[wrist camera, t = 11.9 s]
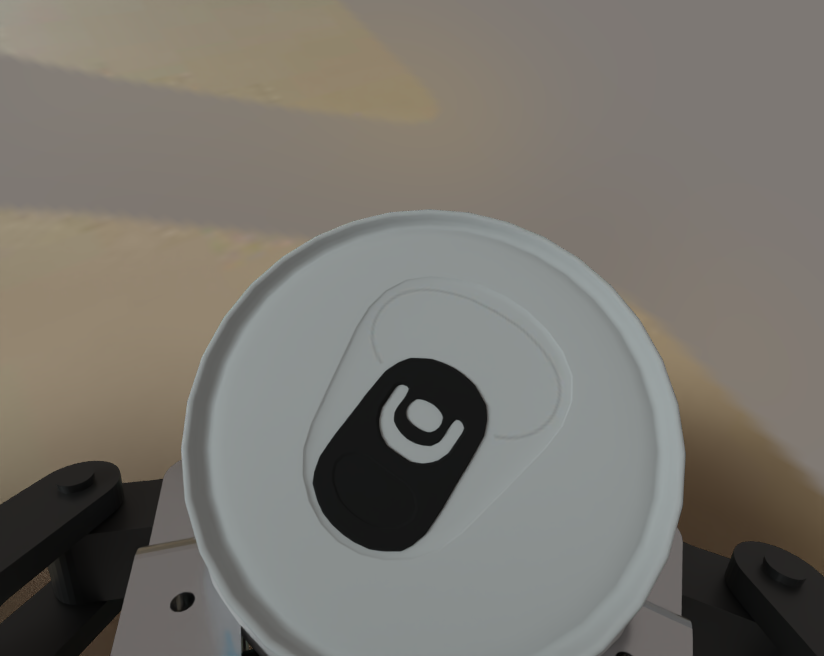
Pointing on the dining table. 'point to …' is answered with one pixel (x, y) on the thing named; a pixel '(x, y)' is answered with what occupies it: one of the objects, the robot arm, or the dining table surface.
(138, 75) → the dining table surface
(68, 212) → the dining table surface
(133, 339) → the dining table surface
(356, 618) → the energy drink can
